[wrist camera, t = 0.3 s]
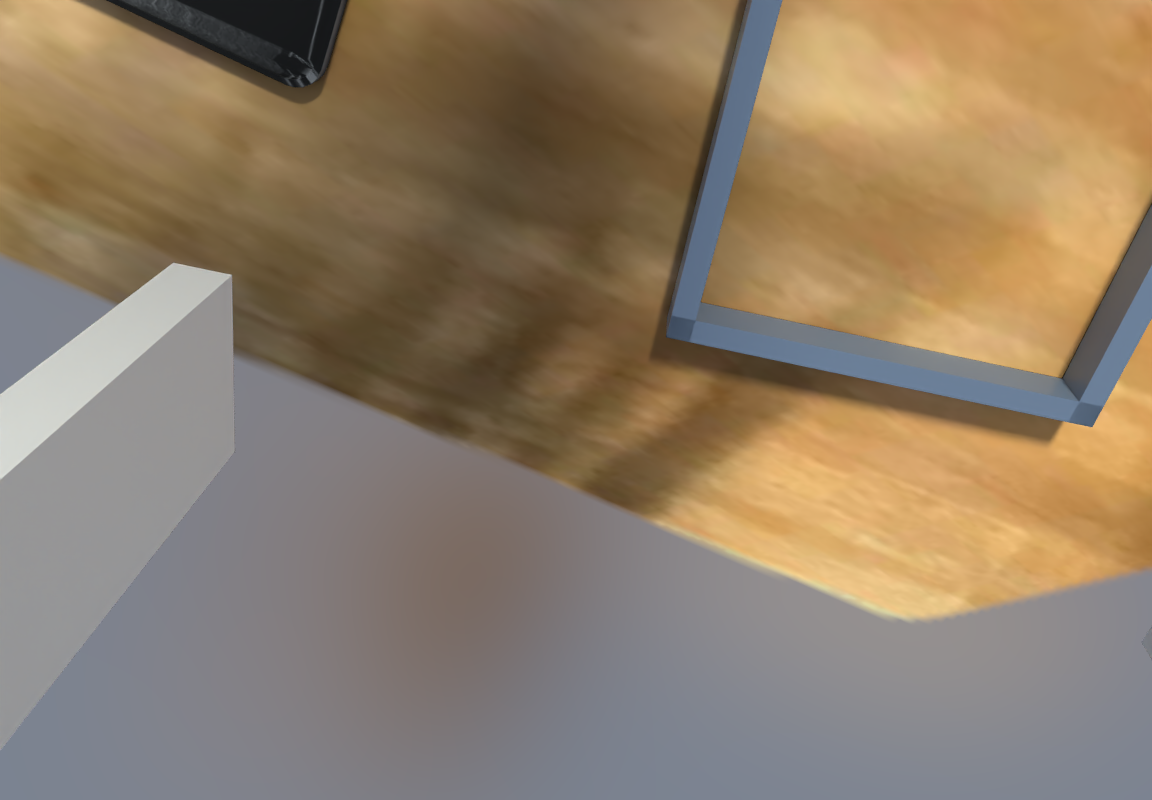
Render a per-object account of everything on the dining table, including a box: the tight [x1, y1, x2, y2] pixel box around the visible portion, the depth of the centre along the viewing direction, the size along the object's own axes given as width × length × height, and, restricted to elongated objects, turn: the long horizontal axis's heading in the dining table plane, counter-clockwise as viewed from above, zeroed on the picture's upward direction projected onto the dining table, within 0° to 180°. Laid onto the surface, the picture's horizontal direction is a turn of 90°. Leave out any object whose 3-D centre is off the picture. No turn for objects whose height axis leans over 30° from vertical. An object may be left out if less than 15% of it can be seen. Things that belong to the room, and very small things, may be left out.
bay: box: [666, 0, 1152, 427], centre depth 36 cm, size 15×18×2 cm
